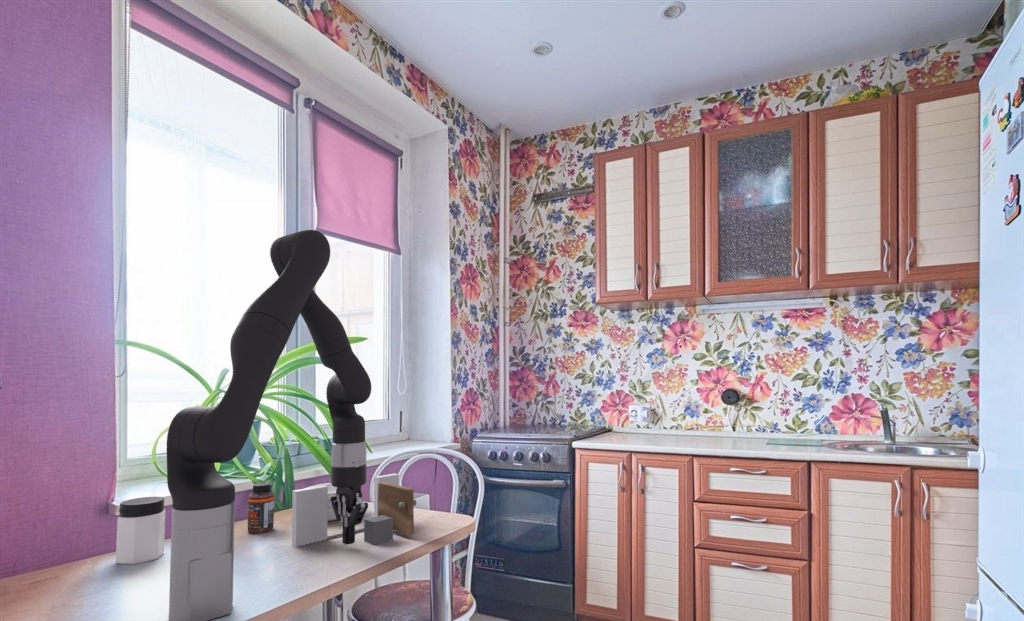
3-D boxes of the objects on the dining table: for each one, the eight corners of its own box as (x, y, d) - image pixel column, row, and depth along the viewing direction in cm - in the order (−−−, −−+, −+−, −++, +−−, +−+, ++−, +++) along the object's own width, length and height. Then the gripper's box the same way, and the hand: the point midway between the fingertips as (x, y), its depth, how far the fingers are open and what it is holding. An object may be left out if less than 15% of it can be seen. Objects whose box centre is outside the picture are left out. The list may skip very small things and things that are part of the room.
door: (385, 521, 146) (385, 480, 147) (417, 531, 136) (417, 488, 137) (371, 525, 143) (371, 483, 144) (403, 535, 133) (403, 490, 134)
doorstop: (392, 540, 133) (392, 517, 134) (373, 545, 130) (373, 522, 130) (383, 537, 136) (383, 515, 137) (364, 541, 133) (364, 519, 133)
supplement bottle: (241, 533, 142) (242, 485, 143) (259, 526, 148) (259, 481, 149) (262, 534, 140) (263, 486, 141) (278, 528, 146) (279, 481, 147)
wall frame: (399, 522, 148) (398, 474, 150) (295, 547, 130) (296, 491, 131) (394, 521, 150) (394, 473, 151) (291, 545, 131) (292, 490, 132)
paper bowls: (291, 517, 156) (291, 487, 157) (344, 507, 166) (344, 479, 167) (315, 528, 145) (315, 495, 146) (370, 516, 155) (370, 486, 156)
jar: (125, 554, 127) (127, 497, 129) (167, 550, 130) (169, 494, 131) (110, 567, 119) (112, 506, 120) (155, 562, 121) (157, 503, 122)
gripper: (319, 462, 132) (318, 541, 130) (348, 468, 122) (348, 553, 121) (349, 457, 137) (349, 533, 135) (379, 463, 127) (379, 545, 126)
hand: (348, 543), depth 128 cm, fingers closed
